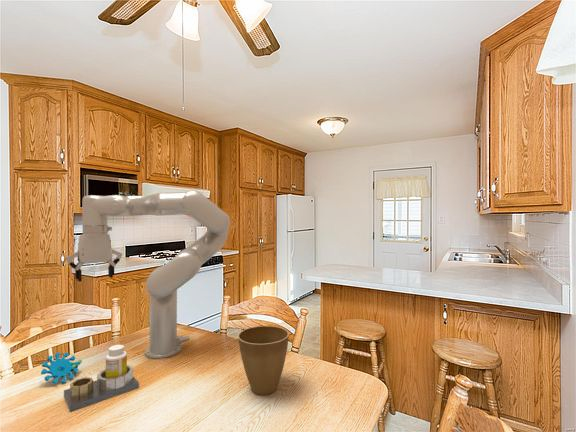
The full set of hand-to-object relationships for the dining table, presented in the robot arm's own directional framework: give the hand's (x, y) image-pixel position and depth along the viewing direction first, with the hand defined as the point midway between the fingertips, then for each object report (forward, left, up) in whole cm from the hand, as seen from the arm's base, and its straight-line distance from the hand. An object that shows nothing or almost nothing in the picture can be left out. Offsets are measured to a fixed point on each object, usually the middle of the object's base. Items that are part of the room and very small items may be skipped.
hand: (95, 279), depth 113 cm
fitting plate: (+4, +25, -28) cm, 38 cm away
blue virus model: (+11, +9, -29) cm, 32 cm away
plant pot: (-32, +55, -28) cm, 70 cm away
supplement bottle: (0, +25, -27) cm, 37 cm away
